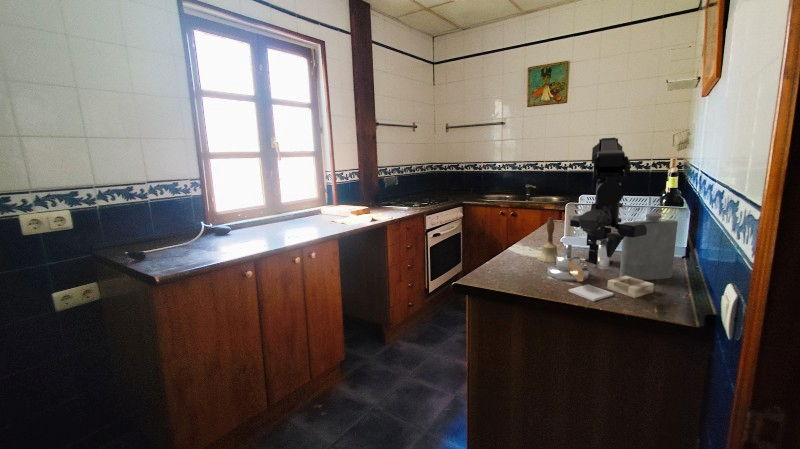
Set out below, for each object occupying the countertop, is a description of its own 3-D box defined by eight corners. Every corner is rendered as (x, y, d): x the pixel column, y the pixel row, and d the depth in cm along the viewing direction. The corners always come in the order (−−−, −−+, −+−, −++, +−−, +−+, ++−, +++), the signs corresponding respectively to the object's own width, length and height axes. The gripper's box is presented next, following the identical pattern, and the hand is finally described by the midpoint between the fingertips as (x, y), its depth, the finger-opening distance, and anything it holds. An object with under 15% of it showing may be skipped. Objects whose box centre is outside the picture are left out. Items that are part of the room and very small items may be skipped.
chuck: (553, 264, 122) (554, 242, 121) (576, 264, 121) (577, 242, 119) (567, 283, 105) (568, 257, 104) (593, 283, 104) (594, 257, 102)
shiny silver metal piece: (603, 265, 104) (605, 237, 103) (613, 267, 101) (616, 239, 100) (591, 267, 102) (593, 239, 100) (601, 270, 99) (603, 241, 98)
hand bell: (563, 263, 130) (566, 219, 127) (539, 262, 132) (540, 219, 129) (558, 256, 138) (560, 215, 135) (535, 256, 140) (537, 215, 137)
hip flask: (666, 274, 116) (673, 211, 112) (676, 278, 112) (683, 214, 108) (617, 276, 115) (622, 214, 111) (625, 281, 111) (631, 216, 107)
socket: (625, 283, 109) (626, 275, 109) (653, 292, 102) (653, 283, 102) (607, 288, 106) (607, 280, 106) (634, 297, 99) (635, 289, 98)
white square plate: (587, 286, 108) (588, 284, 108) (613, 295, 101) (613, 293, 101) (568, 291, 105) (568, 289, 105) (593, 301, 98) (593, 299, 98)
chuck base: (565, 266, 126) (565, 261, 126) (596, 276, 116) (597, 270, 115) (539, 272, 121) (539, 267, 121) (569, 283, 111) (569, 277, 110)
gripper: (557, 199, 103) (555, 252, 106) (621, 206, 86) (617, 269, 89) (584, 195, 108) (581, 247, 111) (650, 202, 91) (645, 262, 94)
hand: (603, 255), depth 101 cm, fingers closed on shiny silver metal piece, 3 cm apart
